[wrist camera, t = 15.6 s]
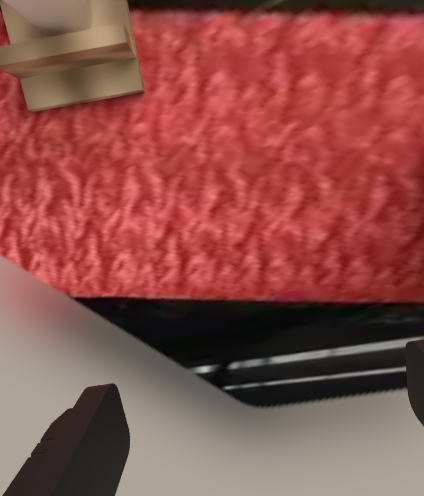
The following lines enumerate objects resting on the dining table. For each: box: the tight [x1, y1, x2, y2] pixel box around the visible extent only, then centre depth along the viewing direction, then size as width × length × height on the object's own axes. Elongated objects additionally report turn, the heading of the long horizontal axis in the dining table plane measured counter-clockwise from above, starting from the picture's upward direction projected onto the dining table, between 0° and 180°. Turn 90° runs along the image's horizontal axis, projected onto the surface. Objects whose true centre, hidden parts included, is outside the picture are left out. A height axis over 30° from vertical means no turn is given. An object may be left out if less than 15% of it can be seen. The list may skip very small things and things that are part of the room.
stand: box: [0, 0, 145, 112], centre depth 31 cm, size 12×16×5 cm
